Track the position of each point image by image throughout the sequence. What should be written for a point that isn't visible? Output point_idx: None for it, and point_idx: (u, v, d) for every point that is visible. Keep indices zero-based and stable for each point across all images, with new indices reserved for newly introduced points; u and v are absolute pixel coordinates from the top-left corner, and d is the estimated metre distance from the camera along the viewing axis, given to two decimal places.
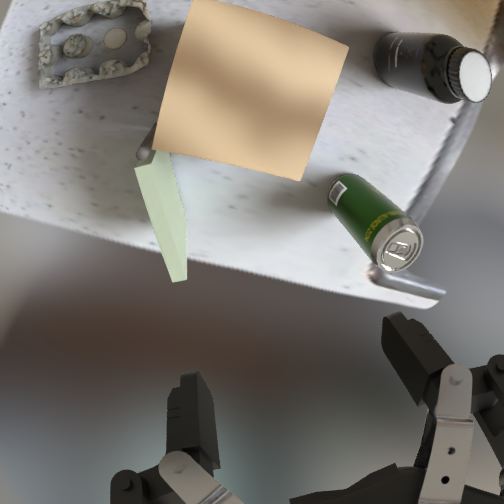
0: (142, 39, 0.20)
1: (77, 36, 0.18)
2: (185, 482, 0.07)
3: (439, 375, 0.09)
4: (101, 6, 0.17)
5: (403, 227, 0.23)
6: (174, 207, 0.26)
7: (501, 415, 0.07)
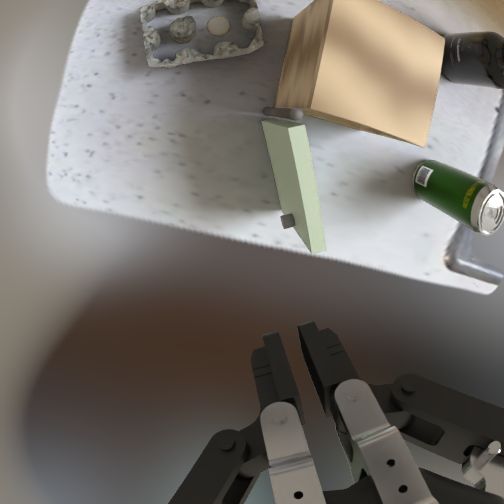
0: (254, 24, 0.22)
1: (186, 18, 0.21)
2: (293, 430, 0.08)
3: None
4: None
5: (493, 191, 0.22)
6: None
7: (428, 422, 0.09)
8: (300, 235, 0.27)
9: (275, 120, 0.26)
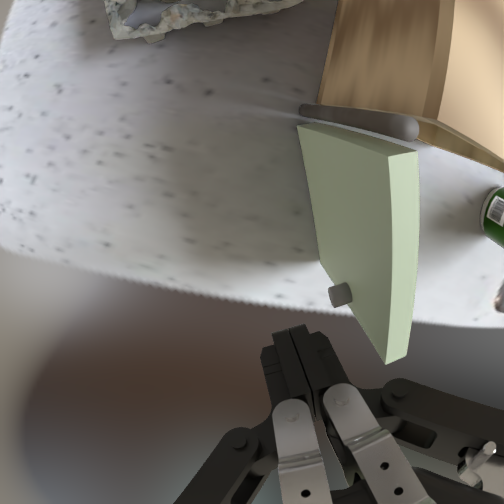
0: None
1: None
2: (306, 427, 0.08)
3: None
4: None
5: None
6: None
7: (420, 425, 0.09)
8: (361, 322, 0.16)
9: (326, 127, 0.15)
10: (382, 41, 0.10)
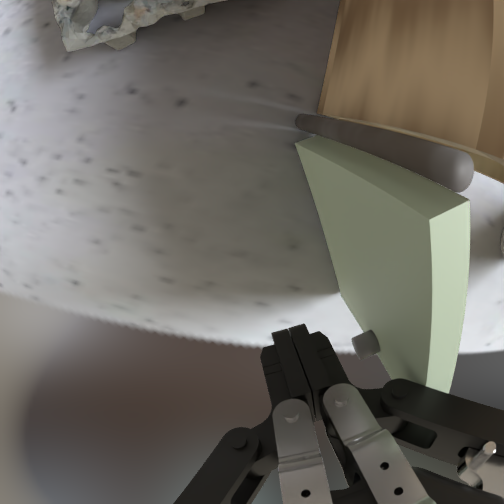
0: None
1: None
2: (306, 427, 0.08)
3: None
4: None
5: None
6: None
7: (420, 425, 0.09)
8: (391, 375, 0.12)
9: (332, 146, 0.11)
10: (406, 31, 0.07)
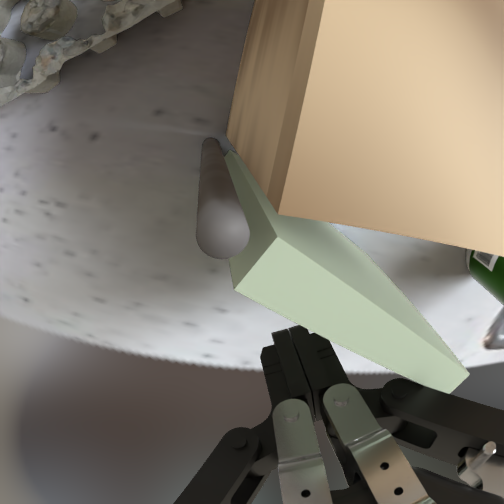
0: None
1: None
2: (306, 427, 0.08)
3: None
4: None
5: None
6: (363, 264, 0.11)
7: (420, 425, 0.09)
8: None
9: (229, 168, 0.11)
10: (264, 42, 0.07)
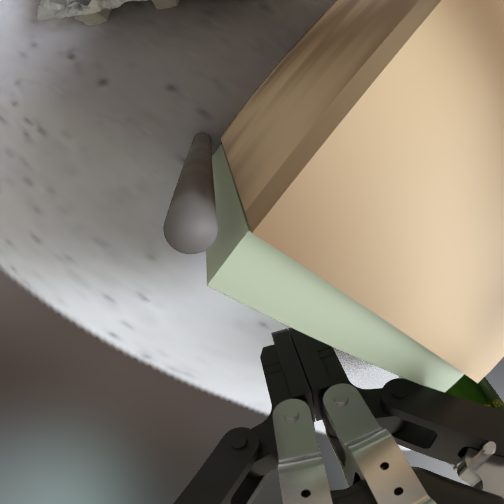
0: None
1: None
2: (306, 427, 0.08)
3: None
4: None
5: None
6: None
7: (420, 425, 0.09)
8: None
9: (217, 163, 0.11)
10: (303, 70, 0.07)
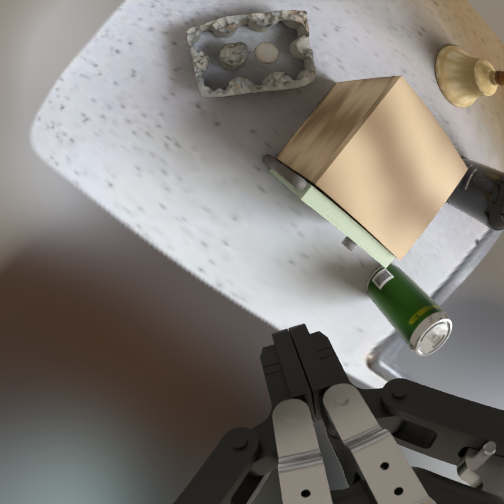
0: (306, 54, 0.23)
1: (238, 44, 0.21)
2: (306, 427, 0.08)
3: None
4: (258, 16, 0.20)
5: (444, 319, 0.26)
6: None
7: (420, 425, 0.09)
8: None
9: None
10: (321, 137, 0.22)
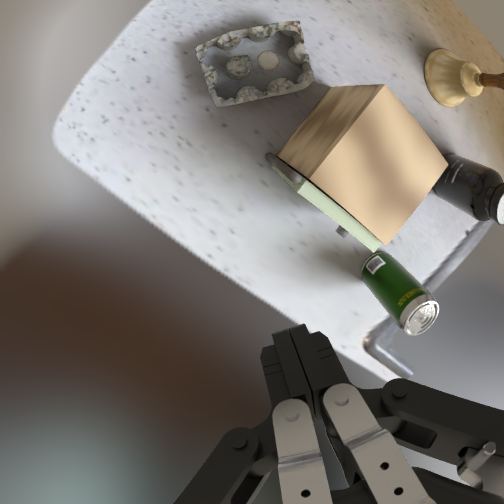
0: (303, 59, 0.26)
1: (243, 57, 0.25)
2: (306, 427, 0.08)
3: None
4: (258, 29, 0.24)
5: (430, 301, 0.29)
6: None
7: (420, 425, 0.09)
8: None
9: None
10: (315, 138, 0.26)
